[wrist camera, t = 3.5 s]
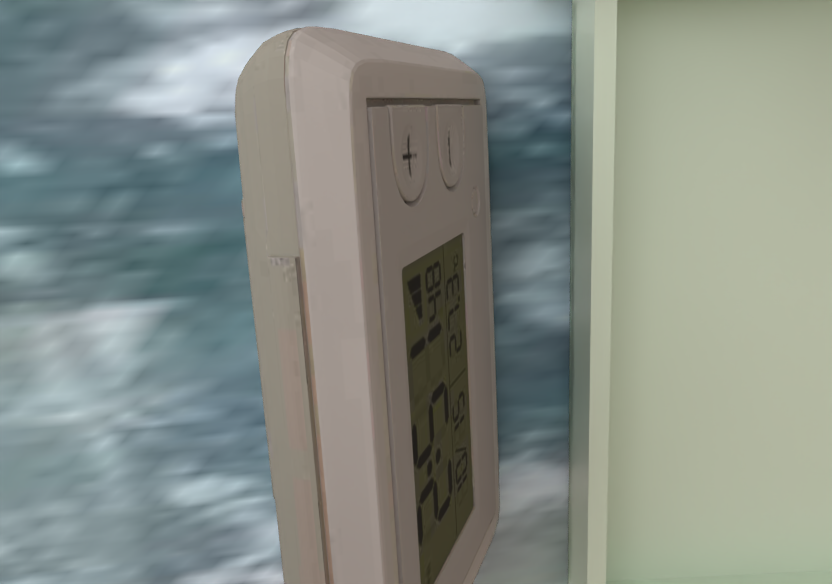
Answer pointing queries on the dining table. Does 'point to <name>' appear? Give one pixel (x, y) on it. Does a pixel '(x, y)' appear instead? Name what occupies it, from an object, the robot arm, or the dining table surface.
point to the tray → (700, 292)
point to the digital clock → (372, 305)
